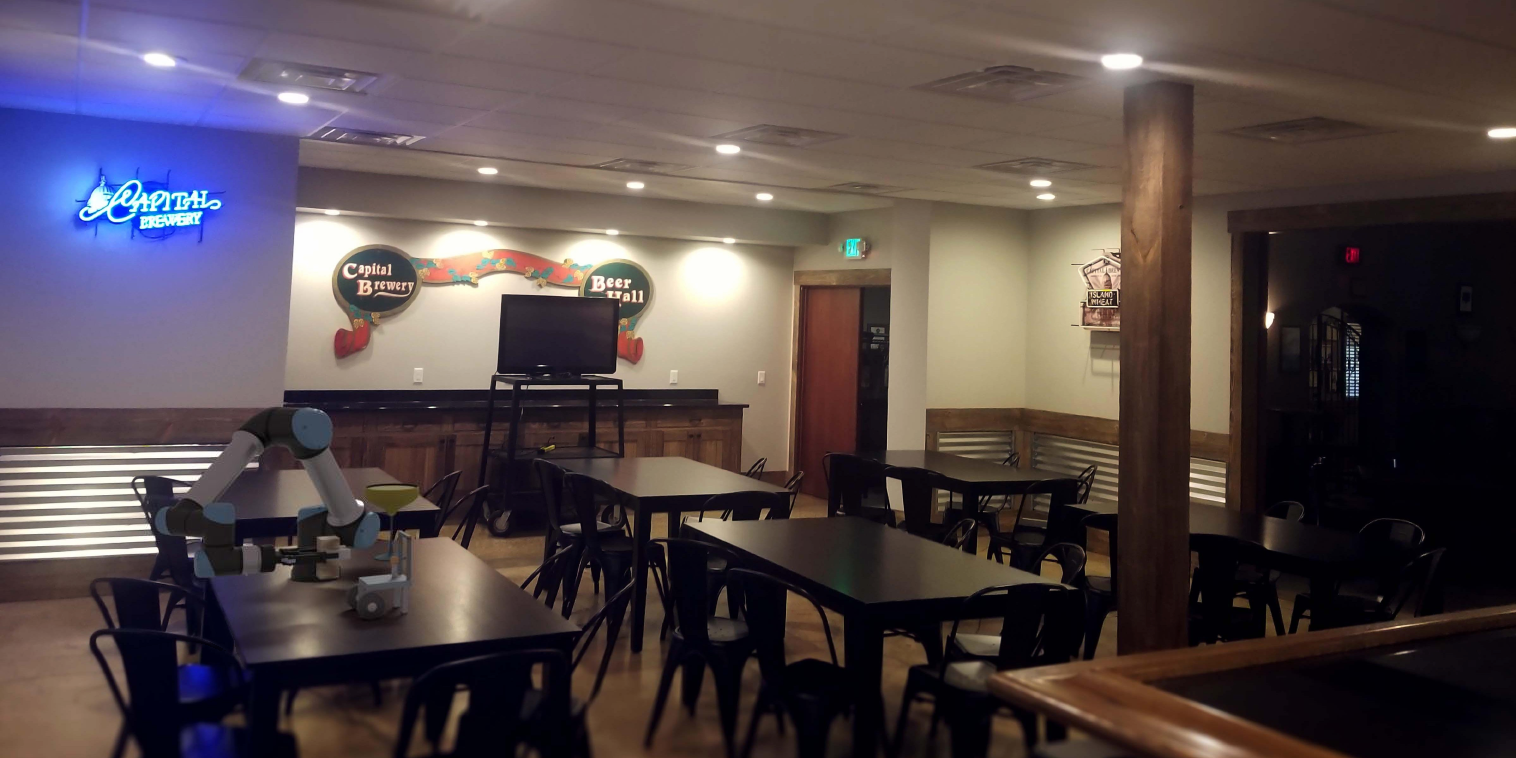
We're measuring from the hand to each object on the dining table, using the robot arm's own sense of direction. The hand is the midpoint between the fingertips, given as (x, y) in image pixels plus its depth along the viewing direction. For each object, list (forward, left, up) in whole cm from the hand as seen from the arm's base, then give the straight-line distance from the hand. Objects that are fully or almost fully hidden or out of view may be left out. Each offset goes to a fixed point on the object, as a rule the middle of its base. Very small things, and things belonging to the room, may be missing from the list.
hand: (347, 552), depth 307 cm
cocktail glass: (-64, -36, -17) cm, 75 cm away
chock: (+4, -3, -6) cm, 8 cm away
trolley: (-2, +9, -17) cm, 19 cm away
